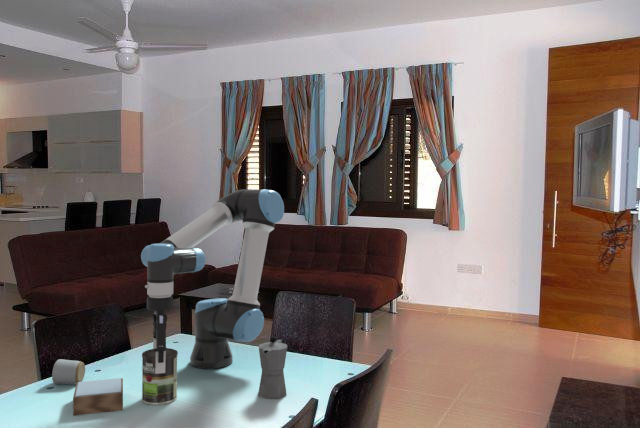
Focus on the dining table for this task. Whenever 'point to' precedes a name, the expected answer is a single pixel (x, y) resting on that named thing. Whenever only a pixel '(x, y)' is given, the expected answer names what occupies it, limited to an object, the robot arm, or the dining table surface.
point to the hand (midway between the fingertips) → (158, 366)
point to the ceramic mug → (68, 372)
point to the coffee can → (159, 378)
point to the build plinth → (98, 396)
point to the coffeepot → (272, 369)
